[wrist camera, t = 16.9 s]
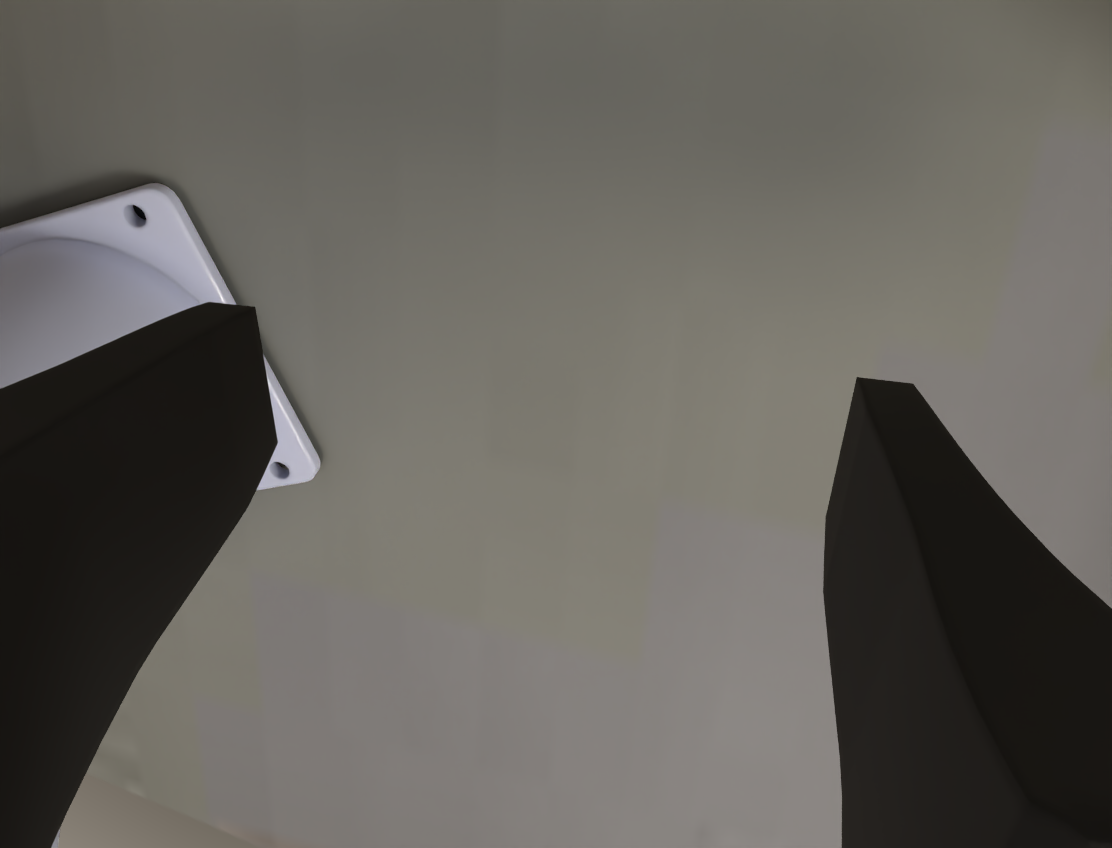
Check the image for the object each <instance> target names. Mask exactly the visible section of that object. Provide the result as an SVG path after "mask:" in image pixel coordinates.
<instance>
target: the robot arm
mask: <svg viewBox="0 0 1112 848" xmlns="http://www.w3.org/2000/svg"><path fill="white" fill-rule="evenodd" d="M133 205H135V206H137V207H139V208H141V210H142V211H143V212H144V213H145V216H146V219H147V220H144V219H142V218H140V217H139V216H138V215H137V214H136V213H135V211H134V208H133ZM277 462H280V463H282V464H284V465H285V466H286V467H287V468H288V469H284V468H282V467H280V466H279V464H278V463H277ZM320 464H321V462H320V459H319V456H318V454H317V452H316V450H315V449H314V447H313V445H312V443H311V441H310V439H309V438H308V436H307V434H306V432H305V430H304V428H303V426H302V425H301V423H300V421H299V419H298V417H297V415H296V413H295V412H294V410H293V408H292V406H291V404H290V402H289V401H288V399H287V397H286V395H285V393H284V391H283V389H282V388H281V386H280V384H279V382H278V380H277V378H276V376H275V375H274V373H273V371H272V369H271V367H270V365H269V364H268V362H267V360H266V358H265V356H264V354H263V351H262V345H261V339H260V333H259V327H258V321H257V315H256V309H255V307H250V306H241V305H237V304H236V302H235V301H234V299H233V297H232V295H231V293H230V291H229V290H228V288H227V286H226V284H225V282H224V280H223V278H222V277H221V275H220V273H219V271H218V269H217V267H216V265H215V264H214V262H213V260H212V258H211V256H210V254H209V252H208V251H207V249H206V247H205V245H204V243H203V241H202V240H201V238H200V236H199V234H198V232H197V230H196V228H195V227H194V225H193V223H192V221H191V219H190V217H189V215H188V214H187V212H186V210H185V208H184V206H183V204H182V203H181V201H180V199H179V198H178V196H177V195H176V194H175V192H174V191H172V190H171V189H170V188H168V187H167V186H165V185H162V184H159V183H149V184H146V185H143V186H140V187H136V188H133V189H130V190H126V191H123V192H120V193H116V194H113V195H110V196H106V197H103V198H100V199H96V200H93V201H90V202H86V203H83V204H80V205H76V206H73V207H70V208H66V209H63V210H60V211H57V212H53V213H50V214H47V215H43V216H40V217H37V218H33V219H30V220H27V221H23V222H20V223H17V224H13V225H10V226H7V227H3V228H0V848H58V842H59V835H60V827H61V824H62V822H63V820H64V818H65V815H66V813H67V811H68V809H69V807H70V805H71V803H72V801H73V799H74V797H75V795H76V792H77V790H78V788H79V786H80V784H81V782H82V780H83V778H84V776H85V774H86V772H87V770H88V768H89V766H90V764H91V762H92V760H93V758H94V756H95V754H96V751H97V749H98V747H99V745H100V743H101V741H102V739H103V737H104V735H105V734H106V732H107V730H108V728H109V726H110V724H111V722H112V720H113V718H114V716H115V715H116V713H117V711H118V709H119V707H120V705H121V703H122V701H123V699H124V698H125V696H126V694H127V692H128V690H129V688H130V686H131V684H132V682H133V681H134V679H135V677H136V675H137V673H138V671H139V670H140V668H141V667H142V665H143V663H144V662H145V660H146V658H147V657H148V655H149V654H150V652H151V650H152V649H153V647H154V645H155V644H156V642H157V641H158V639H159V638H160V636H161V635H162V633H163V632H164V631H165V629H166V628H167V626H168V625H169V623H170V622H171V620H172V619H173V617H174V616H175V614H176V613H177V612H178V610H179V609H180V607H181V606H182V604H183V603H184V601H185V600H186V598H187V597H188V595H189V594H190V592H191V591H192V590H193V588H194V587H195V585H196V584H197V582H198V581H199V579H200V578H201V576H202V575H203V573H204V572H205V571H206V569H207V568H208V566H209V565H210V563H211V562H212V560H213V559H214V557H215V556H216V554H217V553H218V551H219V550H220V548H221V547H222V545H223V544H224V542H225V541H226V539H227V538H228V536H229V535H230V533H231V532H232V530H233V529H234V527H235V526H236V524H237V523H238V521H239V520H240V518H241V517H242V515H243V514H244V512H245V511H246V509H247V507H248V506H249V504H250V502H251V500H252V498H253V496H254V494H255V492H256V490H262V489H268V488H274V487H280V486H286V485H292V484H297V483H303V482H307V481H310V480H312V479H313V478H314V476H315V475H316V473H317V472H318V470H319V469H320ZM823 593H824V604H825V615H826V625H827V636H828V646H829V656H830V665H831V675H832V685H833V695H834V704H835V714H836V724H837V734H838V743H839V753H840V767H841V785H842V848H1112V609H1111V608H1110V607H1109V606H1108V605H1107V604H1106V603H1105V602H1104V601H1102V600H1101V599H1100V598H1099V597H1098V596H1097V595H1096V594H1095V593H1093V592H1092V591H1091V590H1090V589H1089V588H1088V587H1087V586H1086V585H1085V584H1083V583H1082V582H1081V581H1080V580H1079V579H1078V578H1077V577H1076V576H1074V575H1073V574H1072V573H1071V572H1070V571H1069V570H1068V569H1067V568H1066V567H1065V566H1064V565H1063V564H1062V563H1061V562H1060V561H1059V560H1058V559H1057V558H1056V557H1055V556H1054V555H1053V554H1052V553H1051V552H1050V551H1049V550H1048V549H1047V548H1046V547H1045V546H1044V545H1043V544H1042V543H1041V542H1040V541H1039V540H1038V539H1037V537H1036V536H1035V535H1034V534H1033V533H1032V532H1031V531H1030V530H1029V529H1028V528H1027V527H1026V526H1025V525H1024V524H1023V523H1022V522H1021V520H1020V519H1019V518H1018V517H1017V516H1016V515H1015V514H1014V513H1013V512H1012V511H1011V509H1010V508H1009V507H1008V506H1007V505H1006V504H1005V503H1004V501H1003V500H1002V499H1001V498H1000V497H999V496H998V495H997V493H996V492H995V491H994V490H993V488H992V487H991V486H990V485H989V484H988V482H987V481H986V480H985V479H984V477H983V476H982V475H981V474H980V472H979V471H978V470H977V469H976V467H975V466H974V465H973V464H972V462H971V461H970V460H969V458H968V457H967V456H966V455H965V453H964V452H963V451H962V449H961V448H960V447H959V445H958V444H957V443H956V441H955V440H954V439H953V437H952V436H951V434H950V433H949V432H948V430H947V429H946V428H945V426H944V425H943V424H942V422H941V421H940V419H939V418H938V417H937V415H936V414H935V413H934V411H933V410H932V408H931V407H930V406H929V404H928V403H927V402H926V400H925V399H924V398H923V396H922V395H921V394H920V392H919V391H918V390H917V388H916V387H915V386H914V384H911V383H902V382H893V381H885V380H876V379H868V378H859V377H857V379H856V384H855V388H854V393H853V397H852V402H851V406H850V411H849V415H848V420H847V424H846V429H845V433H844V438H843V442H842V447H841V451H840V456H839V460H838V465H837V469H836V474H835V478H834V483H833V487H832V492H831V496H830V501H829V505H828V510H827V514H826V524H825V550H824V586H823Z"/></svg>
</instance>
